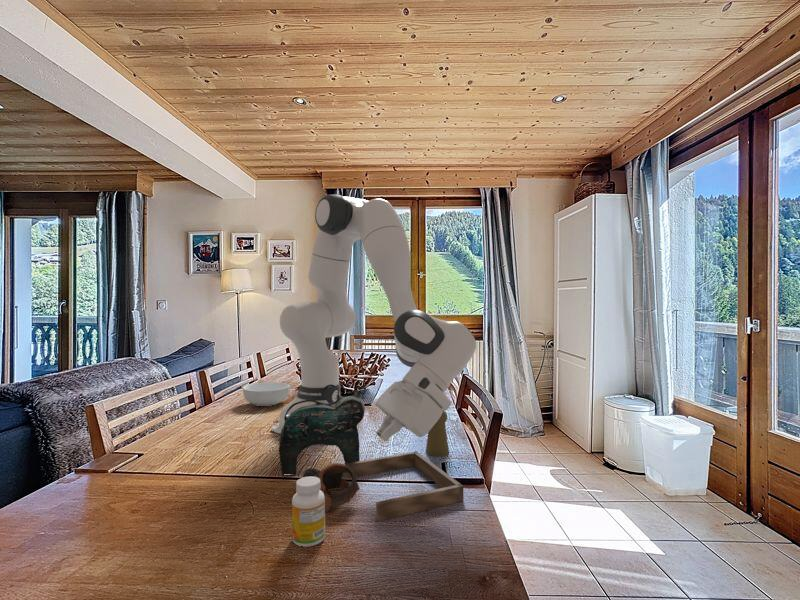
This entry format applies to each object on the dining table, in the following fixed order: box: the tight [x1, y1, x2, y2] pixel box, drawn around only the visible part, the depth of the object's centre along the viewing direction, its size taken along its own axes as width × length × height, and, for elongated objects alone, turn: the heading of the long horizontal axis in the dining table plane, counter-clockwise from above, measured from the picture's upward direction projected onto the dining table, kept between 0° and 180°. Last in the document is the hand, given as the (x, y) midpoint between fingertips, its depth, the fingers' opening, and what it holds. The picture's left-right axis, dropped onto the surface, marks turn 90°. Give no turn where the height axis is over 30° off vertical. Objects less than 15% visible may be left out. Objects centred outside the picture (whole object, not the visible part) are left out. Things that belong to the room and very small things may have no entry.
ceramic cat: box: [278, 384, 366, 476], centre depth 101 cm, size 20×6×20 cm, turn 100°
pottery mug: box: [302, 462, 360, 513], centre depth 86 cm, size 12×10×8 cm
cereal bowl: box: [242, 381, 291, 407], centre depth 163 cm, size 17×17×7 cm
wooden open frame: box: [344, 450, 464, 522], centre depth 91 cm, size 18×21×3 cm
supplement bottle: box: [291, 476, 326, 548], centre depth 73 cm, size 5×5×10 cm
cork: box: [425, 410, 450, 457], centre depth 112 cm, size 6×6×11 cm
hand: (380, 437), depth 90 cm, fingers closed
